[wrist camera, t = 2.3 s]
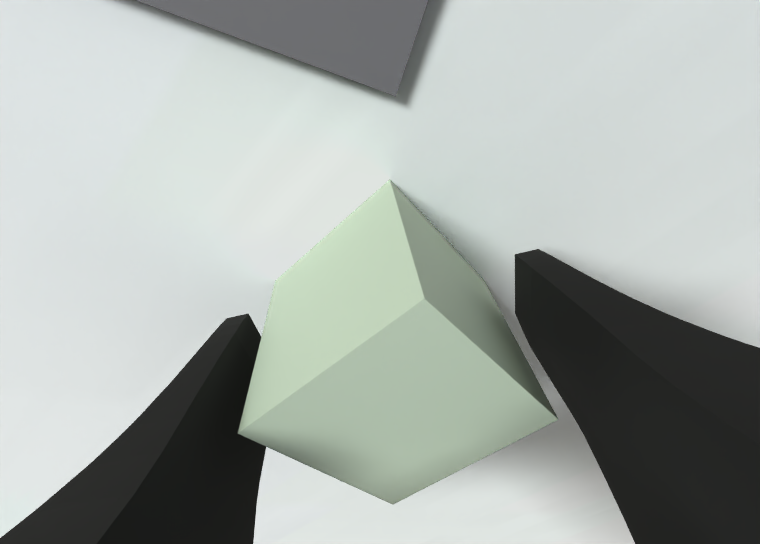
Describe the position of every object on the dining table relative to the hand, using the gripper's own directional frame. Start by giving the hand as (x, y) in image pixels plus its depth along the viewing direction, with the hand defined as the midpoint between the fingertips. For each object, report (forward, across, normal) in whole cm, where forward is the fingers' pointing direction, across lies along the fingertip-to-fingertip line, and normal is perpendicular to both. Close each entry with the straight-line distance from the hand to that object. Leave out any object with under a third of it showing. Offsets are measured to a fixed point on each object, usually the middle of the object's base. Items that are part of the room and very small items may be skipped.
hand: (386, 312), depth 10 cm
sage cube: (+2, 0, 0) cm, 2 cm away
